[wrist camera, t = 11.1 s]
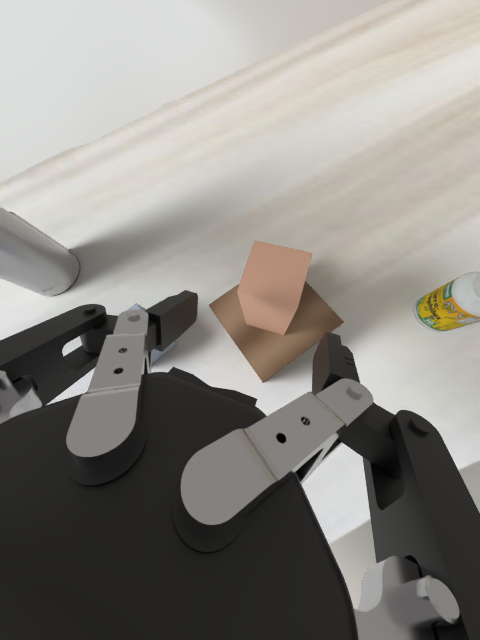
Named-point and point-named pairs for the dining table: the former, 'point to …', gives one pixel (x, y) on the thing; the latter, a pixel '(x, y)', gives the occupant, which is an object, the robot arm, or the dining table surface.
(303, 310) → the walnut block
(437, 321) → the supplement bottle
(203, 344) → the dining table surface
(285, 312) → the pillar block
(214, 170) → the dining table surface
